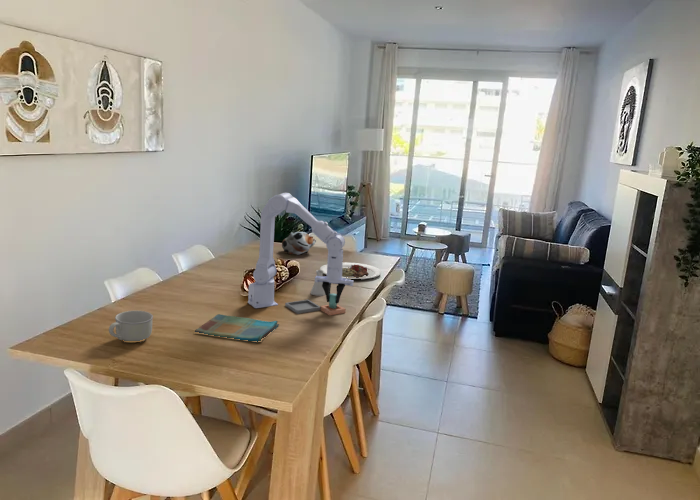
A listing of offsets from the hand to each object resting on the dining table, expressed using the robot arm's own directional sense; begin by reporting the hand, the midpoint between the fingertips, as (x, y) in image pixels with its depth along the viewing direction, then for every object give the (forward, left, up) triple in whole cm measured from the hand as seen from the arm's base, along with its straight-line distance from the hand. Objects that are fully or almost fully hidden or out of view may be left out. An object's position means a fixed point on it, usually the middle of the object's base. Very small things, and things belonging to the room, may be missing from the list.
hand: (333, 302), depth 196 cm
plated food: (+38, +45, -4) cm, 59 cm away
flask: (+7, +22, -4) cm, 23 cm away
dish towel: (-38, -2, -5) cm, 39 cm away
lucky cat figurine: (+34, +93, -4) cm, 99 cm away
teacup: (-71, +3, -4) cm, 72 cm away
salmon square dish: (0, 0, -4) cm, 4 cm away
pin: (0, 0, -2) cm, 2 cm away
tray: (-8, +8, -4) cm, 12 cm away
